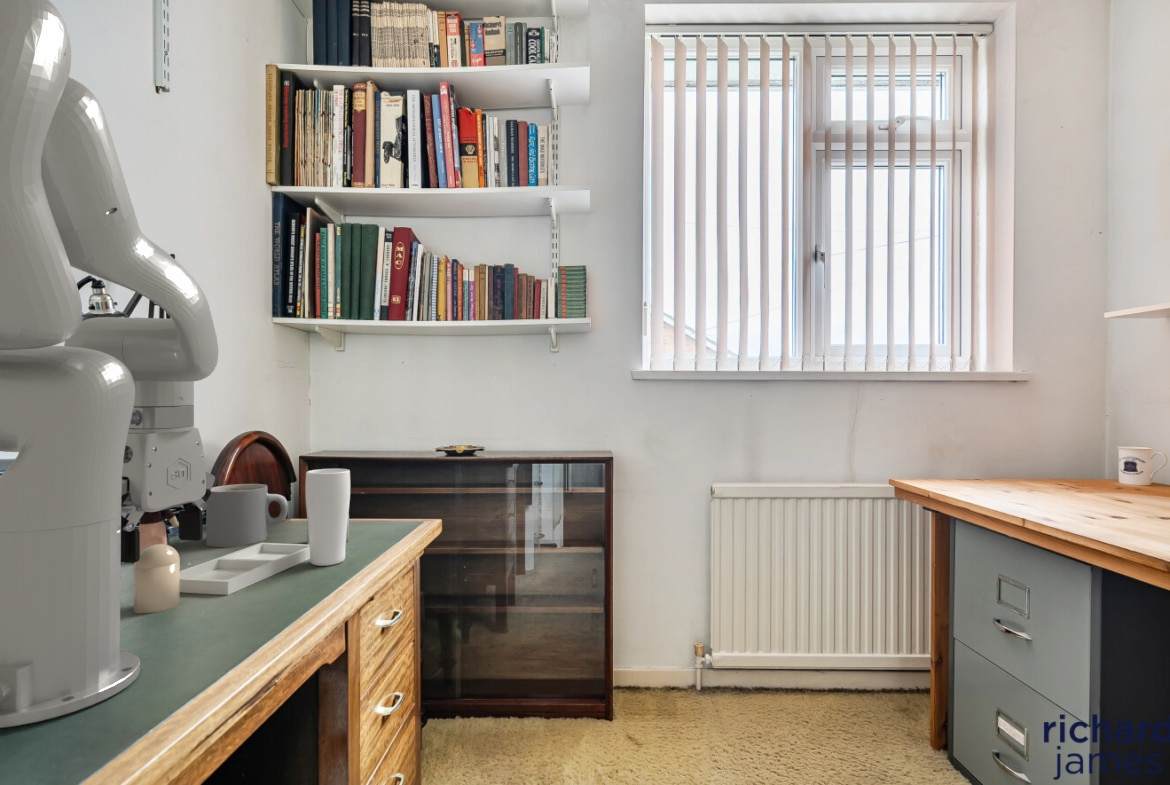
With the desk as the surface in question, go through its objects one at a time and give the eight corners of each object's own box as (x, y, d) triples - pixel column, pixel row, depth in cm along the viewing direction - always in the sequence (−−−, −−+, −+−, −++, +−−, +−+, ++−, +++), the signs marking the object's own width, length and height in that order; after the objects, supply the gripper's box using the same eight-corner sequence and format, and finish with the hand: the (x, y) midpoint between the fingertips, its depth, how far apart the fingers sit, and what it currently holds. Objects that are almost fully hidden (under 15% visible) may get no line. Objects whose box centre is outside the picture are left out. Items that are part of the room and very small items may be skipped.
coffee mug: (197, 548, 105) (198, 492, 105) (216, 536, 114) (216, 484, 115) (280, 543, 108) (280, 489, 109) (291, 532, 118) (292, 482, 118)
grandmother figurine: (177, 553, 101) (177, 480, 102) (179, 558, 99) (180, 482, 99) (120, 561, 96) (121, 484, 97) (121, 566, 94) (122, 487, 94)
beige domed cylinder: (157, 614, 73) (157, 550, 73) (123, 612, 74) (124, 548, 74) (188, 601, 78) (189, 540, 78) (156, 599, 78) (157, 539, 79)
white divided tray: (228, 594, 80) (228, 581, 80) (159, 591, 82) (159, 578, 82) (317, 555, 100) (317, 544, 100) (261, 553, 102) (261, 542, 102)
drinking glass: (339, 568, 93) (339, 473, 93) (296, 568, 93) (297, 473, 93) (356, 556, 99) (357, 468, 100) (317, 556, 100) (317, 468, 100)
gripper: (123, 426, 67) (124, 573, 68) (234, 415, 84) (235, 534, 85) (66, 424, 68) (68, 569, 69) (188, 414, 85) (188, 531, 86)
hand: (160, 549), depth 77 cm, fingers open, 9 cm apart
